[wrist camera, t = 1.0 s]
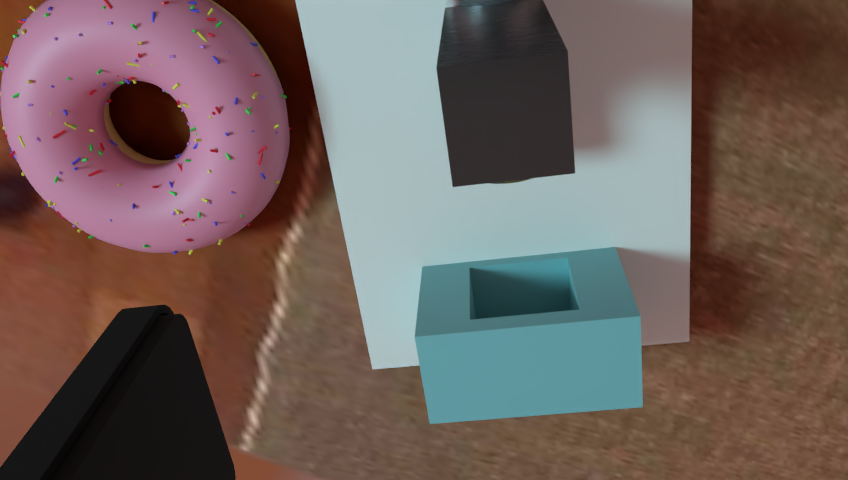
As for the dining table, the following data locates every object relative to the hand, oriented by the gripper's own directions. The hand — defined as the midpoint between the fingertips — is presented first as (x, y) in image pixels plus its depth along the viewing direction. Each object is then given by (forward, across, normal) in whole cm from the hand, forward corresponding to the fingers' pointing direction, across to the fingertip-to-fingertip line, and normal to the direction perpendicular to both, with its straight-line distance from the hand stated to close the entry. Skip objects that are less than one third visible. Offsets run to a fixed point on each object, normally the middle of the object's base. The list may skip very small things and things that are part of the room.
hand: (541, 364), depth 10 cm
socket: (+20, 0, +11) cm, 23 cm away
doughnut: (+22, +14, +1) cm, 26 cm away
